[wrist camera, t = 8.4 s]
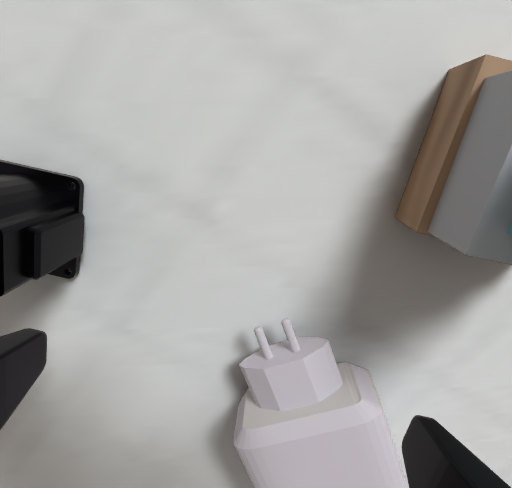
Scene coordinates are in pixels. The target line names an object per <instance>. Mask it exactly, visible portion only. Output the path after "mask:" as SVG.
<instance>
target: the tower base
mask: <svg viewBox="0 0 512 488" xmlns="http://www.w3.org/2000/svg"><path fill="white" fill-rule="evenodd" d="M511 70H512V61H510V60H506V59H502V58H498V57H494V56H490V55H484V56H481V57H479V58H476V59H474V60H471V61H469V62H467V63H464V64H462V65H459V66H457V67H454V68H452V69H449V71H448V74H447V77H446V79H445V82H444V85H443V88H442V90H441V93H440V96H439V98H438V101H437V104H436V107H435V109H434V112H433V115H432V118H431V120H430V123H429V126H428V128H427V131H426V134H425V137H424V139H423V142H422V145H421V147H420V150H419V153H418V156H417V158H416V161H415V164H414V166H413V169H412V172H411V175H410V177H409V180H408V183H407V186H406V188H405V191H404V194H403V196H402V199H401V202H400V205H399V207H398V210H397V213H396V215H395V218H396V219H397V220H399V221H400V222H402V223H403V224H405V225H406V226H408V227H409V228H411V229H412V230H414V231H415V232H418V233H422V234H427V235H431V236H434V235H432V234H430V233H429V232H427V231H428V229H429V226H430V223H431V221H432V218H433V215H434V213H435V210H436V207H437V205H438V202H439V199H440V197H441V194H442V191H443V189H444V186H445V183H446V181H447V178H448V175H449V173H450V170H451V167H452V165H453V162H454V159H455V157H456V154H457V151H458V149H459V146H460V143H461V141H462V138H463V135H464V133H465V130H466V127H467V125H468V122H469V119H470V117H471V114H472V111H473V109H474V106H475V103H476V101H477V98H478V95H479V93H480V90H481V87H482V85H483V82H484V79H485V78H487V77H491V76H494V75H497V74H501V73H504V72H508V71H511Z"/></svg>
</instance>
